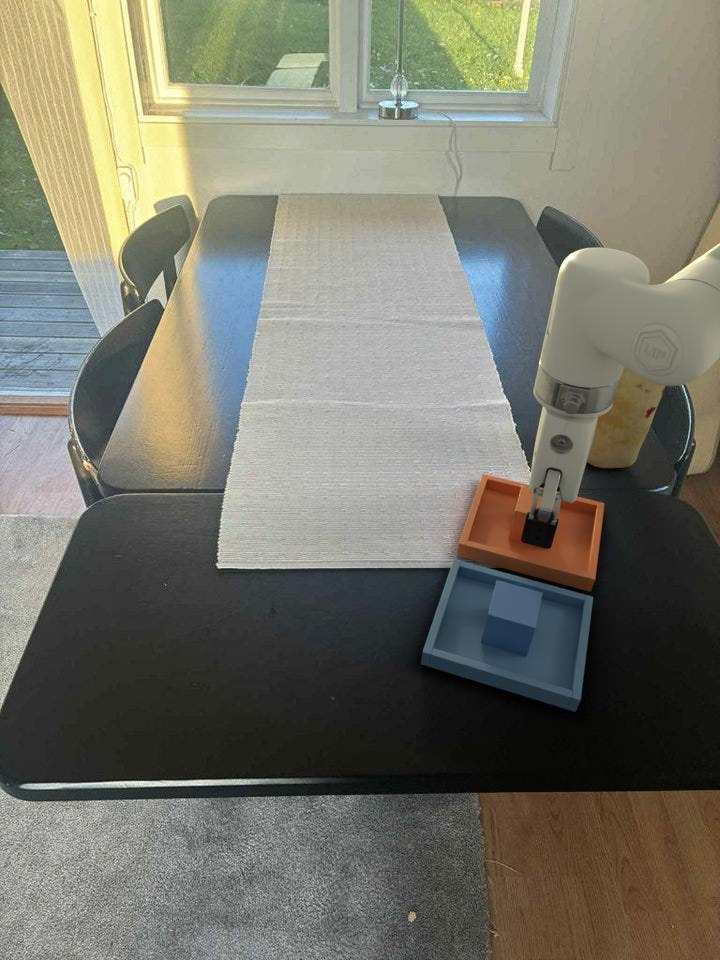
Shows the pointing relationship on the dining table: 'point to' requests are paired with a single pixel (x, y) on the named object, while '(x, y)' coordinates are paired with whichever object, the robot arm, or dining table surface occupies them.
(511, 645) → the blue block
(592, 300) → the robot arm
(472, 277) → the dining table surface
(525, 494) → the terracotta block
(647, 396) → the food model
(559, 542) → the terracotta tray
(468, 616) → the blue tray
